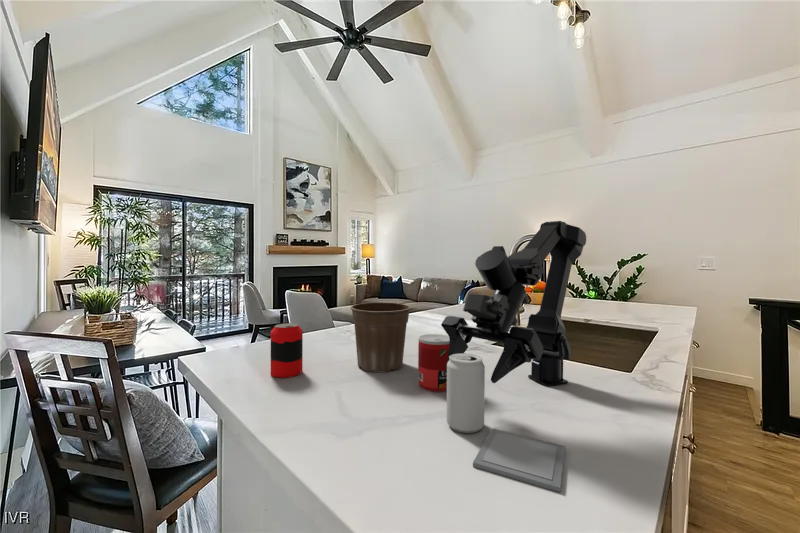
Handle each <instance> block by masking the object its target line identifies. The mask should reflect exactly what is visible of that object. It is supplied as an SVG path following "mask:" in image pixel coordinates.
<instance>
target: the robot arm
mask: <svg viewBox="0 0 800 533" xmlns="http://www.w3.org/2000/svg"><path fill="white" fill-rule="evenodd" d="M586 244H587V234H586V232H585V231H584V230H583V229H582V228H581V227H578V226H575V225H572V224H568V223H566V222H565V221H562V220H553V221H545V222H543V223H541V224H540V226H539V230H538V231H537V232H536V233H535V234H534V236H533V237H532V238H531V239H530V240H529V242H528V243H527V244H526V245H525V247H524V248H522V249H521V250H519V251H516V252H514V253H511V254H509V256H508V254H507V253H506V250H505V247H504V246H503V245H501V246H500V245H499V246H498V245H497V246H496V245H494V246H493V247H492V249H490V250H488V251H485V252H484V253H482V254H481V255H479V256H477V258H476V260H475V263H474V264H475V267H476V269H477V270H478V273H479V274H480V276H481V277H482V280H483V282H484V284H485V286H486V287H487V288H488V289H489V290H492V291H493V293H492V295H491V296H489V295H487V294H486V295H485V294H477V293H467V295H466V298H465V303H464V306H463V309H462V311H463V312H465V313H468V314H470V315H472V317H471V318H470V319H471V321H472V322H473V323H475V324H476V325H475V326H473V325H469V324H468V322H467V321H466V320H465V318H464V317H461V316H452V315H446V316H445V317H444V319H443V320H442V323H441V324H440V326H441V327H442V328H443V331H445V333H446V334H447V336H449V339H450V342H449V352H448V359H447V363H448V361H449V360H450V359H449V356H450V355H453V354H459V353H466V351H467V350H468V348H469V345H468V344H469V343H470V342H471V341H472V339H473V338H477V339H481V340H484V341H485V340H486V341H489V342H494V343H499V344H503V350H502V353H501V354H500V356H499V359H498V361H497V362H496V365H495V367H494V368H493V371H492V374H491V377H490V382H491V383H493V384H496V383H497V382H499V381H500V380H501V379H503V378H504V377H505V376H507V375H508V374H509V373H511V372H512V371H514V370H515V369H517V368H518V367H520V366H521V365H524V364H525V363H531V371H530V372H531V374H528V375H527V377H528V378H529V379H531V380H534V381H535V382H537V383H540V384H541V385H544V386H545V387H546V386H547V387H548V386H549V387H550V386H557V385H564V384H569V380H567V379H564V360H570V359H571V354H572V352H571V350H572V347H571V343H569V340H568V338H567V335H566V327H565V325H564V322H563V319H562V318H561V317H562V313H563V308H564V302H565V298H566V294H567V293H566V292H567V288H568V284H569V279H570V274H571V270H572V265H573V263H574V262H575V261H576V260H578V259H579V257H580V256H582V253H583V250H584V247H585V246H586ZM549 254H550V256H551V260H550V263H549V264H550V265H549V269H548V273H547V277H546V281H545V286H544V290H543V293H542V294H543V295H542V298H541V303H540V308H539V310H538V311H537V313H535V314H533V313H532V314H530V315H529V316H528V322H527V326H526V327H523V326H519V325H517V324H518V322H519V321H518V319H517V318H516V317H517V315H518V313H519V310H520V308H521V306H522V305H528V304H529V297H528V296H527V291H526V289H525V286H530V287H531V286H532V287H535V286H536V285H537V284H538V283H539V281H540V280H541V279H542V276H543V273H544V269H543V263H544V262H545V260H546V259H547V257H548V256H549Z"/></svg>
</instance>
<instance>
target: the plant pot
mask: <svg viewBox="0 0 800 533" xmlns="http://www.w3.org/2000/svg"><path fill="white" fill-rule="evenodd" d="M350 310H351V311H352V323H354V324H353V325H354V336H355V345H356V358H357V366H358V368H361V369H362V370H363V371H367V372H371V373H388V372H390V371H392V370H394V371H397V370H399V369H401V368H402V367H403V364H404V353H405V352H404V351H405V343H406V342H405V341H406V332H407V324H408V322H409V317H410V310H412V306H410V305H409V304H404V303H397V302H362V303H356V304H353V305H350Z"/></svg>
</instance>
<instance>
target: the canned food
mask: <svg viewBox="0 0 800 533" xmlns="http://www.w3.org/2000/svg"><path fill="white" fill-rule="evenodd" d="M449 342H450V339H449V336H448V335H445V334H437V333H433V334H432V333H430V334H429V333H428V334H422V335H420V336H419V337H418V347H417V348H418V349H417V350H418V352H417V353H418V355H417V356H418V361H417V362H418V365H417V366H418V367H417V368H418V370H417V371H418V374H417V376H418V377H417V381H418V385H419V387H420V388H421V389H423V390H425V391H428V392H435V393H436V392H437V393H440V392H447V359H448V352H449Z"/></svg>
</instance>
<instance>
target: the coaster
mask: <svg viewBox="0 0 800 533" xmlns="http://www.w3.org/2000/svg"><path fill="white" fill-rule="evenodd" d="M565 451H566V445H562V444H559V443H554V442H551V441H547V440H541V439H539V438H534V437H529V436H525V435H521V434H517V433H513V432H509V431H505V430H500V429H497V428H491V430H490V431H489V433H488V435H487V436H486V438H485V440H484V442H483V444H482V445H481V447H480V448H479V451H478V452H477V454H476V456H475V458H474V459H473V462H472V467H474V468H476V469H480V470H483V471H486V472H490V473H494V474H497V475H500V476H504V477H507V478H509V479H513V480H517V481H521V482H524V483H527V484H530V485H533V486H536V487H540V488H544V489H546V490H550V491H553V492H556V493H561V486H562V478H563V477H562V476H563V469H564V463H565V461H564V460H565V453H566V452H565Z"/></svg>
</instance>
